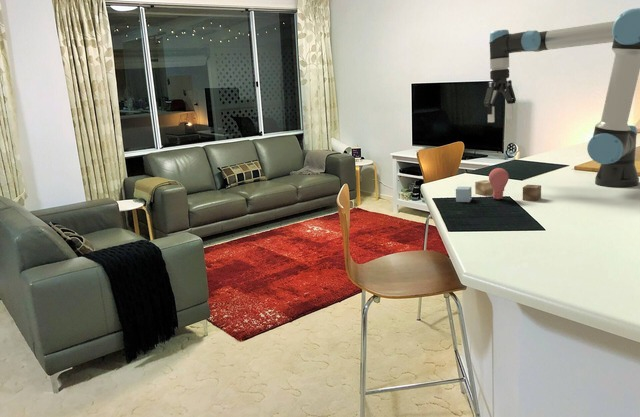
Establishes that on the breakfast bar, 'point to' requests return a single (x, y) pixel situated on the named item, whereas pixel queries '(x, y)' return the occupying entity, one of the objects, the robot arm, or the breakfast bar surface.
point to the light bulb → (498, 181)
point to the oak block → (483, 187)
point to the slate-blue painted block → (463, 194)
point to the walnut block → (532, 192)
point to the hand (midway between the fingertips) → (500, 120)
